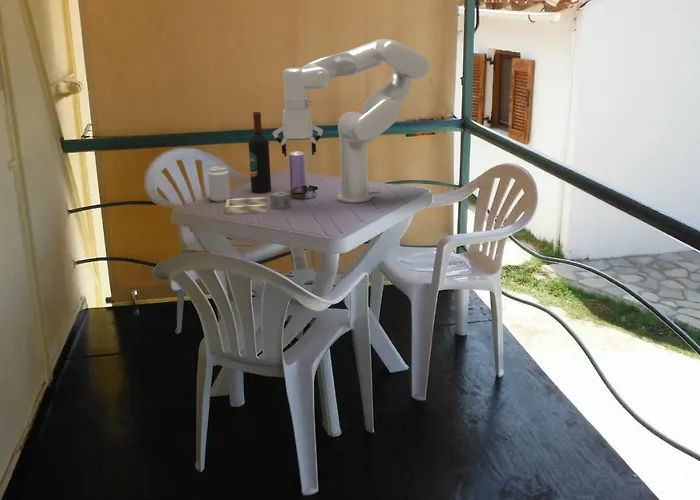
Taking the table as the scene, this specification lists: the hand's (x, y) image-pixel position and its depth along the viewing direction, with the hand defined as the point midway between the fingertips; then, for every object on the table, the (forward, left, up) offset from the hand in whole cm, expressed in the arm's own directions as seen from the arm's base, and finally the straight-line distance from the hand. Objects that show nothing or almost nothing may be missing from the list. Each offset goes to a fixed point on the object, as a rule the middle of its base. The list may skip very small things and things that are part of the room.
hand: (299, 154), depth 252 cm
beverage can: (0, -19, -19) cm, 27 cm away
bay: (+19, +1, -18) cm, 27 cm away
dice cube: (+7, 0, -19) cm, 20 cm away
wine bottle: (+14, -23, -19) cm, 33 cm away
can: (+29, -13, -19) cm, 37 cm away
